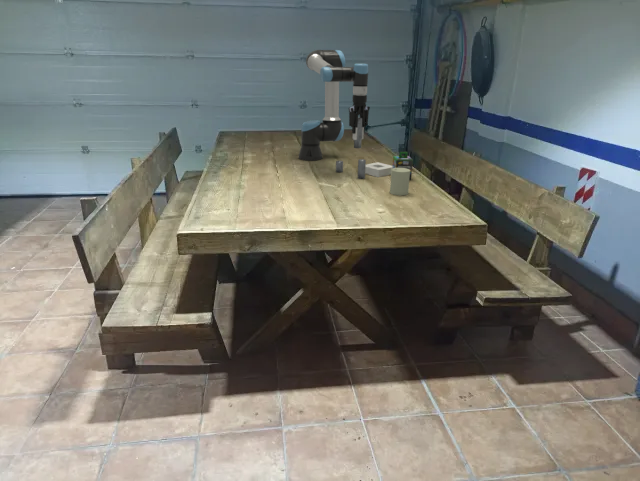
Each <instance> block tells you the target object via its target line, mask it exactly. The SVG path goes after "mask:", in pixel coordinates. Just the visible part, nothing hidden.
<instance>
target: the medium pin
mask: <svg viewBox="0 0 640 481" xmlns="http://www.w3.org/2000/svg"><path fill="white" fill-rule="evenodd" d="M357 160H358V161H357V163H358V164H357V179H358V180H365V179H366V174H365V166H366V164H367V162H366V160H367V159H364V158H362V159H361V158H360V159H357Z"/></svg>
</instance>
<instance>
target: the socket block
mask: <svg viewBox="0 0 640 481" xmlns="http://www.w3.org/2000/svg"><path fill="white" fill-rule="evenodd" d="M392 167H393V165H390V164H386V163H383V162H379V161H377V162H373V163H366V166H365V175H370V176H373V177H376V178H380V177H385V176H391V169H392Z"/></svg>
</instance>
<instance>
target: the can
mask: <svg viewBox="0 0 640 481" xmlns="http://www.w3.org/2000/svg"><path fill="white" fill-rule="evenodd" d="M409 177H410V170H409V169H407V168H393V169H391V175H390V184H389V185H390V187H389V188H390V189H389V193H390V194H391V195H393V196H407V195H409V189H410V188H409V187H410V186H409V185H410V180H409Z"/></svg>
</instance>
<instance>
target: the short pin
mask: <svg viewBox="0 0 640 481" xmlns="http://www.w3.org/2000/svg"><path fill="white" fill-rule="evenodd" d="M343 172H344V161H343V160H336V161H335V173H341V174H342V173H343Z"/></svg>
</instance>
